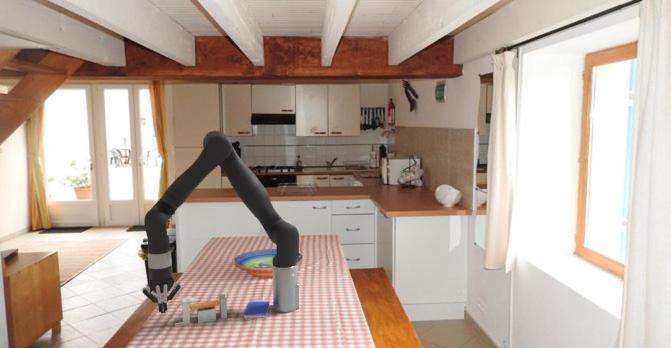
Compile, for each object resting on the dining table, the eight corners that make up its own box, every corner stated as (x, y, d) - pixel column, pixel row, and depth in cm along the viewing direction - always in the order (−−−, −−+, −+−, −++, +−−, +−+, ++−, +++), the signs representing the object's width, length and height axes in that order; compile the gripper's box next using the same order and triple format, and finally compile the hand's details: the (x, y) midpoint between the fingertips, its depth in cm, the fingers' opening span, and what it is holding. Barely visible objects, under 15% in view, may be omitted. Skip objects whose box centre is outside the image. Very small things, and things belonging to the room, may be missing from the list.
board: (225, 309, 179) (224, 289, 178) (231, 326, 165) (231, 304, 164) (173, 317, 172) (172, 296, 171) (175, 335, 158) (174, 312, 157)
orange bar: (225, 303, 172) (224, 298, 171) (226, 305, 170) (225, 300, 169) (189, 308, 167) (189, 303, 167) (190, 310, 165) (189, 306, 165)
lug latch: (195, 317, 169) (194, 296, 168) (196, 322, 166) (195, 300, 165) (182, 319, 168) (181, 298, 166) (183, 324, 164) (182, 302, 163)
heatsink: (213, 313, 173) (213, 302, 172) (216, 320, 167) (215, 309, 166) (197, 316, 170) (196, 305, 170) (198, 323, 165) (198, 312, 164)
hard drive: (266, 314, 172) (269, 301, 184) (243, 315, 172) (248, 301, 184) (266, 318, 172) (269, 305, 184) (243, 319, 172) (248, 305, 184)
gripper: (139, 270, 155) (142, 320, 158) (181, 265, 160) (183, 313, 162) (139, 263, 162) (142, 311, 164) (179, 258, 167) (182, 305, 169)
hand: (163, 312), depth 163 cm, fingers closed
